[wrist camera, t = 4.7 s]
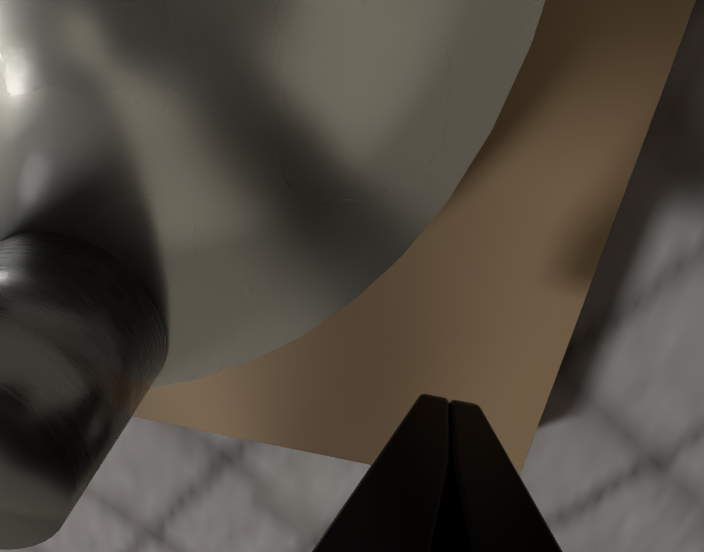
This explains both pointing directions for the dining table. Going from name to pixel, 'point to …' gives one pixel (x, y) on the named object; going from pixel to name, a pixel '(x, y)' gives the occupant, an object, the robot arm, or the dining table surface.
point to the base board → (473, 260)
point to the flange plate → (209, 194)
